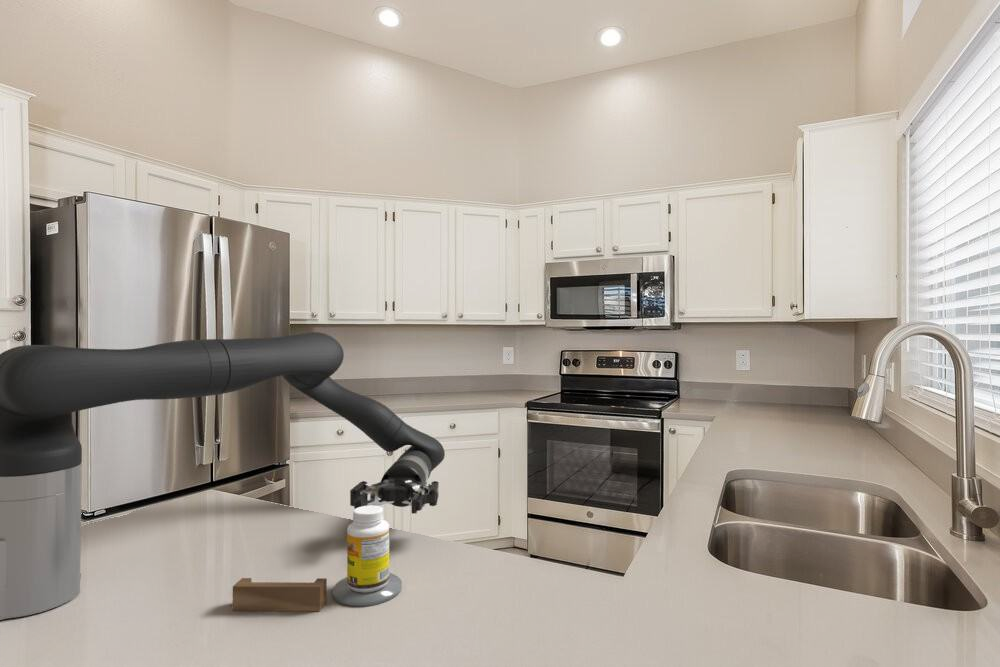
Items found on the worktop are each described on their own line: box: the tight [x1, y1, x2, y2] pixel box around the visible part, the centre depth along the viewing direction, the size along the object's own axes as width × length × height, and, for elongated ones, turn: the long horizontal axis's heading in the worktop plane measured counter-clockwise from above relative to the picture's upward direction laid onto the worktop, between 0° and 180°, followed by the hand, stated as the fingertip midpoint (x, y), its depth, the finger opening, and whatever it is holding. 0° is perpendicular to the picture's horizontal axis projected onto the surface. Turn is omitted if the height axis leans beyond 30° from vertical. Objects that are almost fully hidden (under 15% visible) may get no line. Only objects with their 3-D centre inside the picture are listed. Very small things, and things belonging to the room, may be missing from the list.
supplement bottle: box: [346, 505, 390, 593], centre depth 72 cm, size 6×6×10 cm
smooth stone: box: [332, 572, 403, 608], centre depth 72 cm, size 9×9×1 cm
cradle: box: [232, 577, 328, 612], centre depth 68 cm, size 2×11×3 cm, turn 89°
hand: (386, 507), depth 82 cm, fingers open, 8 cm apart
